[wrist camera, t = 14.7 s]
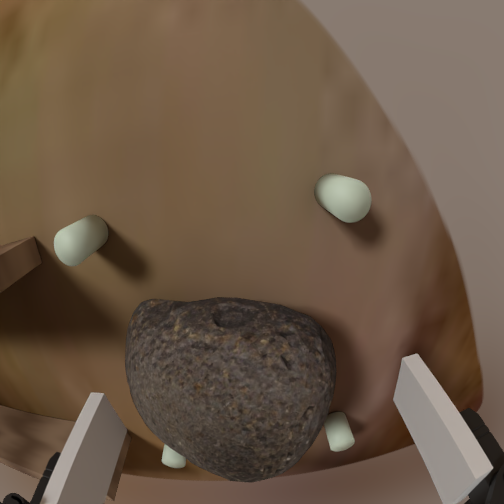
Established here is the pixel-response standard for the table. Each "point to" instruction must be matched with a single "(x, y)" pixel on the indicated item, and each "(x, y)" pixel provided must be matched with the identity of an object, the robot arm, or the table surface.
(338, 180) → the zone posts
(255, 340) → the stone
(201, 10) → the table surface
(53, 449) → the channel
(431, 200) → the table surface
